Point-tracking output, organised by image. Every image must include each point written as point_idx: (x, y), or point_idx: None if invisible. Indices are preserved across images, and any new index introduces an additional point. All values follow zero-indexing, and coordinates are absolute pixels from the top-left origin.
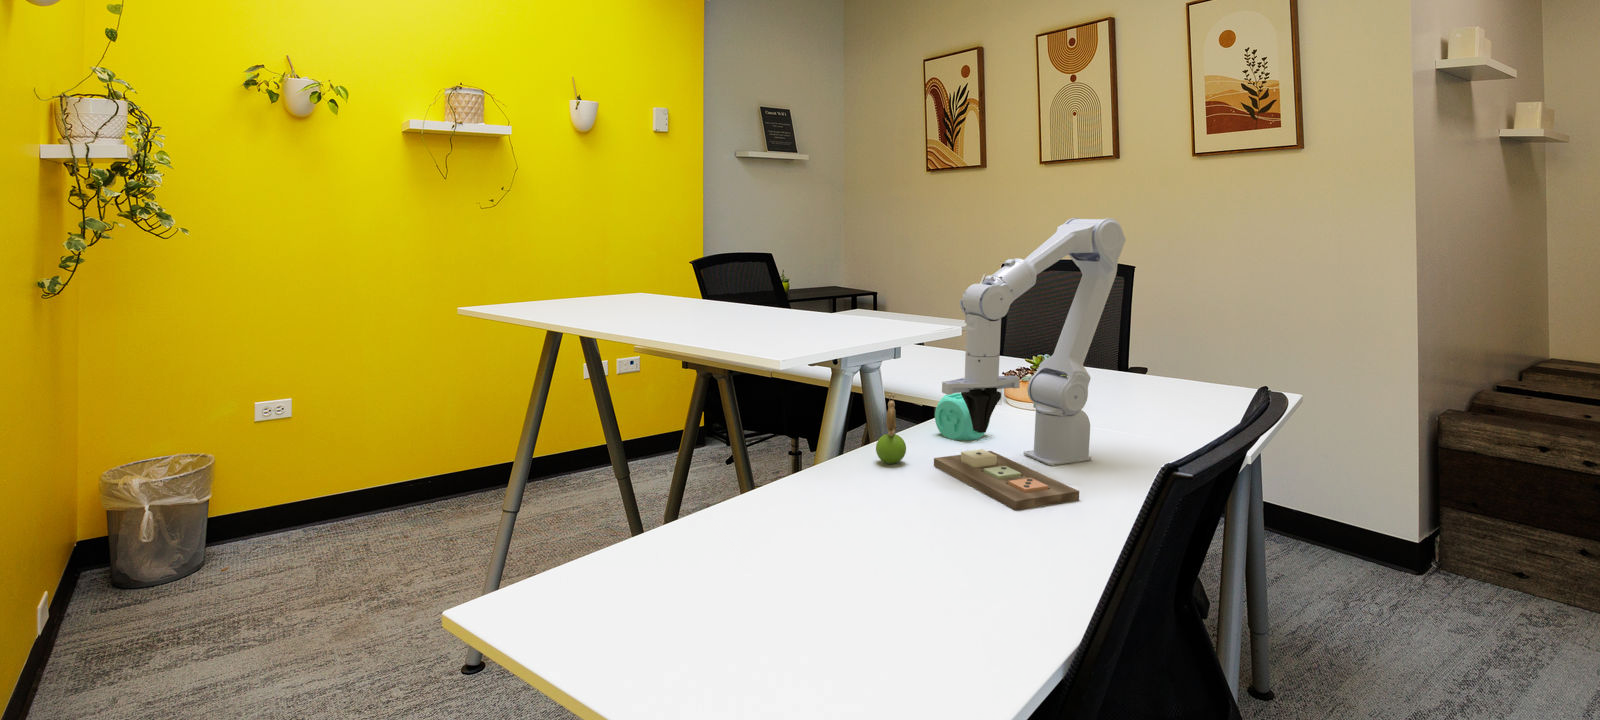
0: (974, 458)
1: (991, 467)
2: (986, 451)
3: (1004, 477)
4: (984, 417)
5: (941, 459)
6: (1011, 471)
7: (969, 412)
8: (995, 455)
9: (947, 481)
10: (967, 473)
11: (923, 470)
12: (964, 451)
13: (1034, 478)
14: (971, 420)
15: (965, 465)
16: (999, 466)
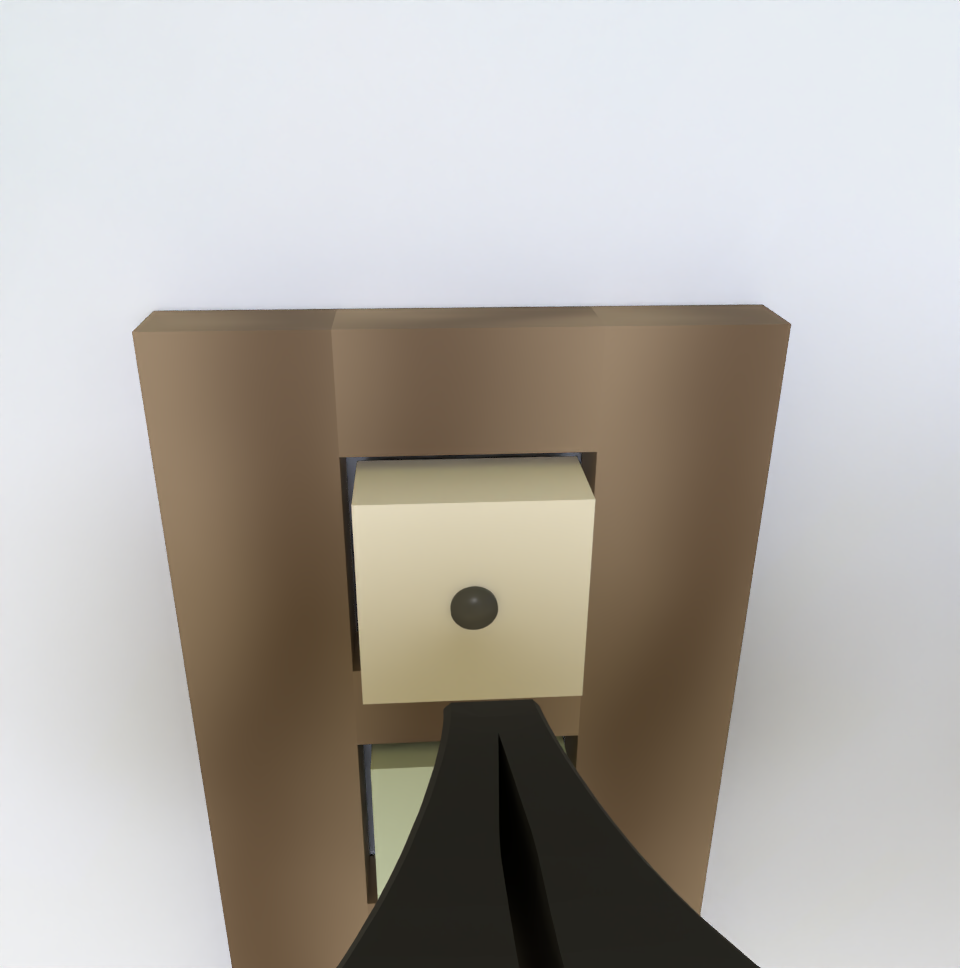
0: (363, 694)
1: None
2: (583, 570)
3: None
4: (521, 964)
5: (186, 398)
6: None
7: (404, 853)
8: (579, 684)
9: (107, 665)
10: (228, 762)
11: (13, 383)
12: (388, 507)
13: None
14: (432, 773)
15: (313, 608)
16: None
